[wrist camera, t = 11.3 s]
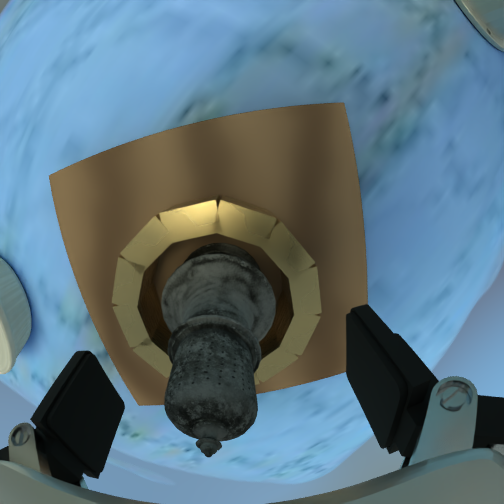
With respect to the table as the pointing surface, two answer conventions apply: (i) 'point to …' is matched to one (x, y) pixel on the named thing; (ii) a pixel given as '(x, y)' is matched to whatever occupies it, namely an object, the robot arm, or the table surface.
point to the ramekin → (12, 317)
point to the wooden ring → (235, 226)
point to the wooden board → (206, 185)
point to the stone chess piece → (215, 342)
